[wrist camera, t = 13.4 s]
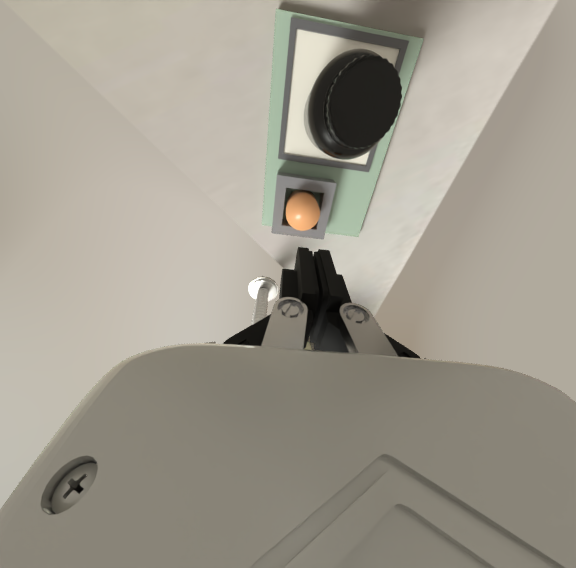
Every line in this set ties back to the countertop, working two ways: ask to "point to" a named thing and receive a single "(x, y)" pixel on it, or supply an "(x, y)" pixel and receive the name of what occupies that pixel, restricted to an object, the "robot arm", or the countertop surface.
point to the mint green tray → (291, 131)
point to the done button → (302, 210)
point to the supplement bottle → (352, 104)
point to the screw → (262, 295)
